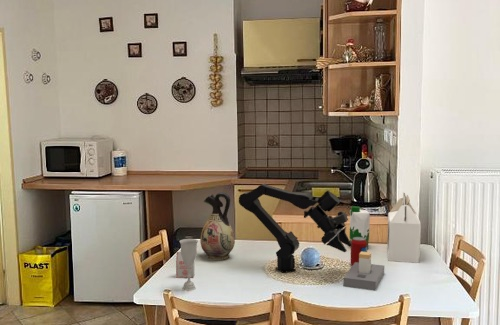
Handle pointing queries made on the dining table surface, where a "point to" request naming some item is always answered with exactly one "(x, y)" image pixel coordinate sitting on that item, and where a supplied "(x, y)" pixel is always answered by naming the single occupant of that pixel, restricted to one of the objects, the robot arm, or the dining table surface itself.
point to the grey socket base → (363, 277)
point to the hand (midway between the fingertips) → (348, 248)
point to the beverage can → (357, 248)
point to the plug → (365, 262)
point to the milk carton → (359, 223)
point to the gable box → (403, 232)
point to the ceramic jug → (217, 230)
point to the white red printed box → (182, 267)
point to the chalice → (188, 259)
